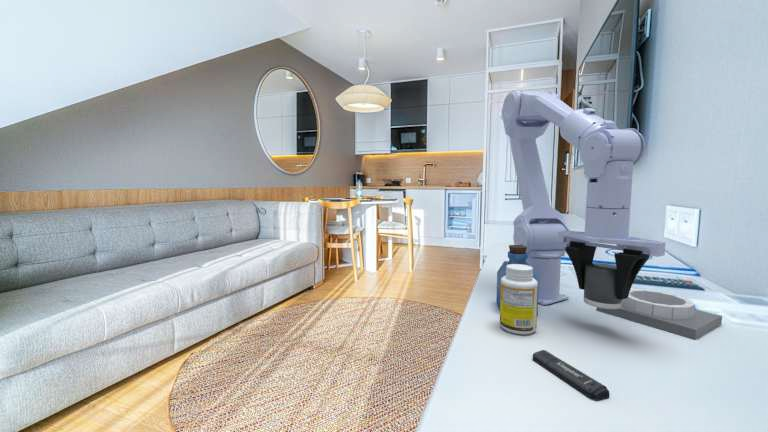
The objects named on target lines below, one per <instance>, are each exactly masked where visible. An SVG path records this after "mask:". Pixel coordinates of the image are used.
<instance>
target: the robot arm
mask: <svg viewBox="0 0 768 432" xmlns="http://www.w3.org/2000/svg"><path fill="white" fill-rule="evenodd" d="M501 117H502V121H503V122H502V123H503V127H504V131H505V135H507V136H508V138H509V145H510V148H511V155H512V160H513V164H514V170H515V174H516V175H515V176H516V180H517V186H518V189H519V194H520V199H521V205H522V209H523V211H522V212H520V213H519V215H517V216H516V217H515V219H514V220H513V222H512V223H513V243H514V244H513V245H523V246H527V249H526V253H528V259H526V262H527V263H528V264H529V265H530V266H531V267H532V268H533V272H534V274H535V276H536V278H537V280H538V282H539V292H538V304H540V305H544V306H548V305H550V304H555V303H558V302H561V301H565V300H569V296H568V295H566V294H562V293H560V286H561V285H560V284H561V266H562V265H561V264H562V263H561V261H562V257H565V253H566V254H567V255H568V257H569V259H570V262H571V264H572V266H573V270H574V272H575V275H576V278H577V280H576V281H577V283H578V288H579V290H583V291H584V283H585V265H586V264H587V263H594V258H595V253H596V250H597V248H603V249H609V250H614V251H615V250H617V251H622V252H616V253H614V261H615V265H616V268H617V286H616V299H620V300H623V299H626V298H628V295H629V292H630V289H632V286H633V283H634V281H635V279H636V277H637V276H638V274H639V272H640V271H641V270H642V269H643V267H644V266H645V264H646V263H647V262H648V261H649V259H650V257H651V256H652V257H657V258H659V257H664V256H665V254H666V253H665V252H666V241H662V240H653V239H647V238H640V237H634V236H630V235H629V234H630V231H629V230H630V217H631V205H632V203H631V202H632V188H633V175H634V174H633V173H634V172H633V171H634V165H636V164H637V163H638V162H640V160H641V159H642V157H643V156H644V153H645V149H646V142H645V137H644V136H643V134H641V133H640V132H639V131H638V130H637V129H636V128H633V127H632V128H630V127H628V128H623V129H620V128H618V127H617V126H616V123H615V121H613V120H612V119H611V120H607V119H604V118H602V117H601V116H599V115H597V109H594V108H592V107H586V108H580V109H576V110H575V109H573V108H572V107H571V106H569V105H568V104H567V103H565V102H564V101H562V100H561V98H560V95H559V94H557V93H555V92H552V91H548V92H545V91H544V92H541V91H518V90H511V91H509V93H508V94H506V96H505V98H504V101H503V105H502V108H501ZM550 123H552V124H553V125H555V126H556V127H558V128H559V134H560V136H561V137H562V139H564V140H565V141H566V142H567V143H568V144H570V145H571V146H572V147H574V148H575V149H576V150H578V151H579V158H580V160H581V162H582V164H583V168H584V169H583V171H584V172H583V175H584V177H585V178H586V179H587V184H586V185H587V186H586V202H585V204H586V205H585V216H584V217H585V220H584V222H585V223H584V231H576V230H571V229H570V228H569V226H568V225H567V223H566V219H565V217H564V214H562V213H561V212H560V211H558V209H557V210H556V209H555V208H554V207H552V206H551V201H550V197H549V194H548V190H547V185H546V179H545V175H544V172H543V167H542V163H541V158H540V154H539V150H538V144H537V139H538V138H539V137H541V136H543V135H544V134H545V132H546V131H547V129H548V127H549V125H550Z"/></svg>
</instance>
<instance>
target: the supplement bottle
mask: <svg viewBox="0 0 768 432" xmlns="http://www.w3.org/2000/svg"><path fill="white" fill-rule="evenodd" d="M537 298H538V282H537V281H536V280H535V279H534V278H533V268H532V267H531V266H528V265H522V264H509V265H507V266H506V276H504V277H502V278H501V290H500V310H499V325H500V327H501V328H502V329H503V330H504V331H506V332H509V333H512V334H515V335H525V336H526V335H532V334H533V333H535V332H536V330H537V319H538V317H537Z"/></svg>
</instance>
